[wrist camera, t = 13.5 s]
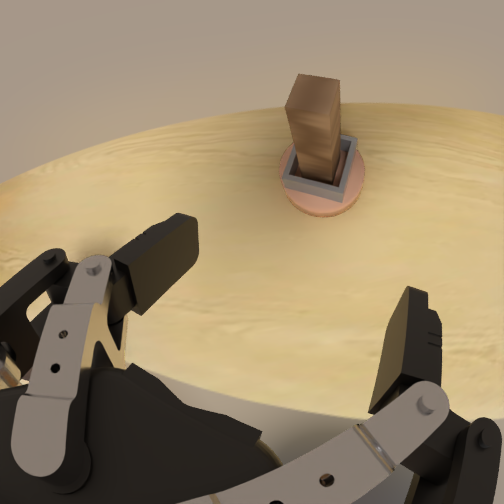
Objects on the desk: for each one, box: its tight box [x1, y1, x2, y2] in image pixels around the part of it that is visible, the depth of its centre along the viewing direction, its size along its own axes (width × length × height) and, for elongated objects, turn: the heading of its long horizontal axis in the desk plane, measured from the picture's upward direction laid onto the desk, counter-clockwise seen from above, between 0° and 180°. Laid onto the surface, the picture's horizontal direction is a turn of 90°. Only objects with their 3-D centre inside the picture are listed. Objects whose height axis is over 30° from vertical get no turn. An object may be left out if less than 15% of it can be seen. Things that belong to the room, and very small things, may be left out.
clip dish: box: [279, 134, 365, 217], centre depth 33 cm, size 10×10×6 cm
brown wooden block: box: [285, 74, 341, 186], centre depth 27 cm, size 4×4×13 cm
